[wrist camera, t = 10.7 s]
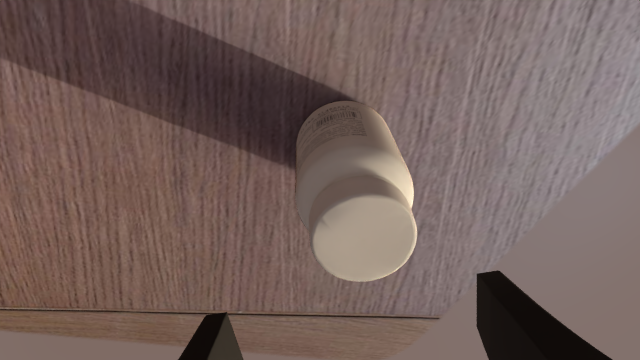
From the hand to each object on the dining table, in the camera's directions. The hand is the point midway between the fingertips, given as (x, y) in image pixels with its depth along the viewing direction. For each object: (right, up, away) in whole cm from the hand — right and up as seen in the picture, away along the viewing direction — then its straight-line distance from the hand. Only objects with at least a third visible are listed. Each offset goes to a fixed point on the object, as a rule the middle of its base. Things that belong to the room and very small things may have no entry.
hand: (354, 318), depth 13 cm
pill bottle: (0, +6, +8) cm, 10 cm away
